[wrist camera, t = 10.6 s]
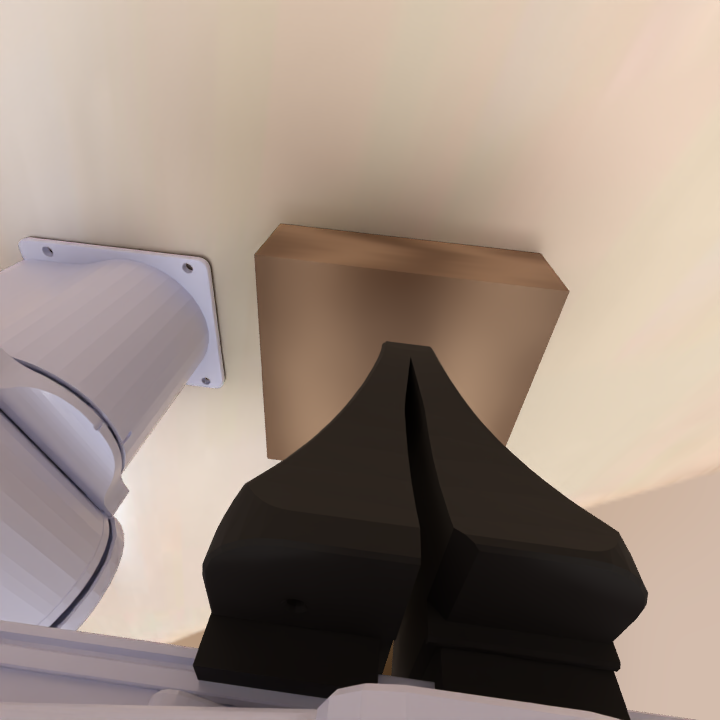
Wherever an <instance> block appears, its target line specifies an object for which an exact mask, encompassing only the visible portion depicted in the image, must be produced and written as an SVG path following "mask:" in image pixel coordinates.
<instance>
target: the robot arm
mask: <svg viewBox="0 0 720 720" xmlns="http://www.w3.org/2000/svg"><path fill="white" fill-rule="evenodd" d="M18 246H19V249H20V252H21V254H22V257H23V259H24V260H22V261H20V262H18V263H16V264H14V265H12V266H10V267H8V268H6V269H4V270H2V271H0V720H694V719H687V718H680V717H673V716H666V715H660V714H653V713H646V712H638V711H631V710H627V708H626V705H625V702H624V699H623V697H622V693H621V691H620V688H619V685H618V682H617V679H616V676H615V673H614V671H616V672H617V671H618V670H619V669H620V660H619V657H618V654H617V652H616V649H615V646H614V643H613V641H614V640H615V639H616V638H617V637H618V636H619V635H620V634H621V633H622V632H623V631H624V630H625V629H626V628H627V627H628V626H629V625H630V624H631V623H632V622H634V621H635V620H636V619H637V617H638V616H639V615H640V613H641V612H642V611H643V609H644V608H645V606H646V604H647V597H648V592H647V590H646V588H645V586H644V584H643V581H642V579H641V577H640V574H639V572H638V570H637V567H636V565H635V563H634V561H633V558H632V556H631V554H630V552H629V550H628V549H627V547H626V545H625V543H624V541H623V539H622V538H621V536H620V534H619V532H617V531H616V530H615V529H613V528H612V527H610V526H609V525H607V524H606V523H604V522H603V521H601V520H600V519H598V518H596V517H595V516H593V515H592V514H590V513H589V512H587V511H586V510H584V509H583V508H581V507H580V506H578V505H577V504H575V503H574V502H572V501H571V500H569V499H568V498H567V497H565V496H564V495H563V494H561V493H560V492H559V491H557V490H556V489H555V488H553V487H552V486H551V485H549V484H548V483H547V482H545V481H544V480H543V479H542V478H541V477H539V476H538V475H537V474H536V473H534V472H533V471H532V470H531V469H529V468H528V467H527V466H526V465H525V464H524V463H523V462H522V461H520V460H519V459H518V458H517V457H516V456H515V455H514V454H513V453H511V452H510V451H509V450H508V449H507V448H506V447H505V446H504V445H503V444H502V443H501V442H500V441H499V440H498V439H497V438H496V437H495V436H494V435H493V434H492V432H491V431H490V430H489V429H488V428H487V427H486V426H485V425H484V424H483V423H482V422H481V420H480V419H479V418H478V417H477V416H476V414H475V413H474V412H473V411H472V409H471V408H470V407H469V405H468V404H467V403H466V401H465V400H464V399H463V397H462V396H461V394H460V393H459V391H458V390H457V389H456V387H455V386H454V384H453V383H452V381H451V380H450V378H449V376H448V375H447V373H446V372H445V370H444V368H443V367H442V365H441V363H440V361H439V360H438V358H437V356H436V354H435V352H434V351H433V349H432V348H431V347H430V346H422V345H414V344H406V343H398V342H390V341H386V342H385V343H383V344H382V348H381V351H380V354H379V356H378V359H377V361H376V363H375V364H374V366H373V368H372V370H371V371H370V373H369V375H368V376H367V378H366V379H365V381H364V382H363V384H362V385H361V387H360V388H359V389H358V391H357V392H356V393H355V394H354V396H353V397H352V398H351V400H350V401H349V402H348V403H347V404H346V406H345V407H344V408H343V409H342V410H341V411H340V412H339V413H338V414H337V415H336V417H335V418H334V419H333V420H332V421H331V422H330V423H328V424H327V425H326V426H325V427H324V428H323V429H322V430H321V431H320V432H319V433H318V434H317V435H315V436H314V437H313V438H312V439H311V440H310V441H308V442H307V443H306V444H304V445H303V446H302V447H300V448H299V449H298V450H296V451H295V452H294V453H292V454H291V455H290V456H288V457H287V458H286V459H284V460H283V461H281V462H280V463H278V464H277V465H275V466H274V467H272V468H270V469H269V470H267V471H265V472H264V473H262V474H261V475H259V476H257V477H256V478H254V479H252V480H251V481H249V482H247V483H245V485H244V486H243V487H242V489H241V490H240V492H239V493H238V495H237V496H236V498H235V499H234V500H233V502H232V504H231V505H230V507H229V509H228V510H227V512H226V514H225V515H224V517H223V519H222V521H221V523H220V524H219V526H218V528H217V530H216V533H215V535H214V537H213V540H212V542H211V545H210V547H209V550H208V552H207V555H206V557H205V559H204V562H203V572H202V575H203V579H204V583H205V588H206V592H207V596H208V600H209V604H210V608H211V612H212V613H211V615H210V618H209V621H208V624H207V626H206V629H205V632H204V635H203V638H202V641H201V643H200V646H199V648H192V647H185V646H178V645H171V644H164V643H157V642H150V641H143V640H136V639H129V638H122V637H116V636H109V635H102V634H95V633H88V632H81V631H76V630H77V629H78V628H79V627H80V626H81V625H82V624H83V623H84V621H85V620H86V619H87V618H88V617H89V615H90V614H91V613H92V611H93V610H94V609H95V607H96V606H97V604H98V603H99V601H100V600H101V598H102V597H103V595H104V593H105V591H106V590H107V588H108V587H109V585H110V583H111V581H112V579H113V577H114V575H115V573H116V571H117V568H118V566H119V563H120V560H121V557H122V553H123V547H124V533H123V530H122V527H121V524H120V523H119V522H118V520H117V519H116V518H115V517H114V516H113V515H114V514H115V512H116V511H117V509H118V508H119V506H120V504H121V503H122V501H123V500H124V498H125V497H126V495H127V494H128V492H129V490H128V488H127V487H126V486H125V484H124V483H123V481H122V478H121V474H122V473H123V471H124V470H125V469H126V467H127V466H128V464H129V463H130V462H131V460H132V459H133V457H134V456H135V454H136V453H137V452H138V450H139V449H140V447H141V446H142V445H143V443H144V442H145V440H146V439H147V438H148V436H149V435H150V433H151V432H152V431H153V429H154V428H155V426H156V425H157V423H158V422H159V421H160V419H161V418H162V416H163V415H164V414H165V412H166V411H167V409H168V408H169V407H170V405H171V404H172V402H173V401H174V400H175V398H176V397H177V395H178V394H179V392H180V391H181V390H182V388H183V387H184V385H193V386H201V387H209V388H220V387H222V386H223V384H224V382H225V376H224V369H223V361H222V353H221V346H220V338H219V330H218V322H217V315H216V307H215V299H214V292H213V284H212V276H211V269H210V265H209V263H208V262H207V261H206V260H205V259H203V258H200V257H194V256H185V255H177V254H168V253H160V252H151V251H142V250H134V249H125V248H117V247H108V246H100V245H91V244H83V243H74V242H66V241H57V240H49V239H40V238H32V237H27V238H24V239H22V240H20V241H19V243H18ZM48 247H49V248H50V249H51V250H52V251H53V253H52V252H50V251H49V249H48ZM186 263H188V264H190V265H191V266H192V268H193V270H189V269H188V268H187V267H186ZM205 378H208V379H209V380H210V381H209V380H206V379H205ZM393 640H394V645H393V646H394V647H393V660H392V675H391V676H388V675H382V673H383V670H384V667H385V664H386V661H387V658H388V654H389V651H390V648H391V645H392V642H393Z"/></svg>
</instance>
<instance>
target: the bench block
mask: <svg viewBox="0 0 720 720" xmlns="http://www.w3.org/2000/svg"><path fill="white" fill-rule="evenodd" d="M254 256H255V271H256V287H257V303H258V318H259V334H260V350H261V366H262V381H263V397H264V413H265V428H266V444H267V458H268V459H276V460H284V459H286V458H287V457H288V456H290V455H291V454H292V453H294V452H295V451H296V450H298V449H299V448H300V447H302V446H303V445H304V444H306V443H307V442H308V441H310V440H311V439H312V438H313V437H314V436H315V435H317V434H318V433H319V432H320V431H321V430H322V429H323V428H324V427H325V426H326V425H327V424H328V423H330V422H331V421H332V420H333V419H334V418H335V417H336V415H337V414H338V413H339V412H340V411H341V410H342V409H343V408H344V407H345V406H346V404H347V403H348V402H349V401H350V400H351V398H352V397H353V396H354V394H355V393H356V392H357V391H358V389H359V388H360V387H361V385H362V384H363V382H364V381H365V379H366V378H367V376H368V375H369V373H370V371H371V370H372V368H373V366H374V364H375V363H376V361H377V359H378V356H379V354H380V351H381V348H382V344H383V343H385V342H386V341H390V342H398V343H406V344H414V345H422V346H430V347H431V348H432V349H433V351H434V352H435V354H436V356H437V358H438V360H439V361H440V363H441V365H442V367H443V368H444V370H445V372H446V373H447V375H448V376H449V378H450V380H451V381H452V383H453V384H454V386H455V387H456V389H457V390H458V391H459V393H460V394H461V396H462V397H463V399H464V400H465V401H466V403H467V404H468V405H469V407H470V408H471V409H472V411H473V412H474V413H475V414H476V416H477V417H478V418H479V419H480V420H481V422H482V423H483V424H484V425H485V426H486V427H487V428H488V429H489V430H490V431H491V432H492V434H493V435H494V436H495V437H496V438H497V439H498V440H499V441H500V442H501V443H502V444H503V445H504V446H506V444H507V442H508V439H509V437H510V434H511V432H512V429H513V427H514V425H515V422H516V420H517V417H518V415H519V412H520V410H521V408H522V405H523V403H524V400H525V398H526V396H527V393H528V391H529V388H530V386H531V383H532V381H533V379H534V376H535V374H536V371H537V369H538V366H539V364H540V362H541V359H542V357H543V354H544V352H545V349H546V347H547V345H548V342H549V340H550V337H551V335H552V333H553V330H554V328H555V325H556V323H557V320H558V318H559V316H560V313H561V311H562V308H563V306H564V303H565V301H566V299H567V296H568V294H569V290H568V289H567V288H566V286H565V285H564V284H563V282H562V281H561V280H560V278H559V277H558V276H557V274H556V273H555V272H554V270H553V269H552V268H551V266H550V265H549V264H548V262H547V261H546V260H545V258H544V257H543V256H542V254H540V253H532V252H523V251H514V250H505V249H497V248H488V247H479V246H471V245H462V244H453V243H444V242H436V241H427V240H418V239H409V238H401V237H392V236H383V235H375V234H366V233H357V232H348V231H340V230H331V229H322V228H313V227H305V226H296V225H287V224H280V225H279V226H278V227H277V228H276V230H275V231H274V232H273V233H272V234H271V235H270V237H269V238H268V239H267V240H266V241H265V243H264V244H263V245H262V246H261V247H260V249H259V250H258V251H257V252H256V253H255V255H254Z"/></svg>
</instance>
